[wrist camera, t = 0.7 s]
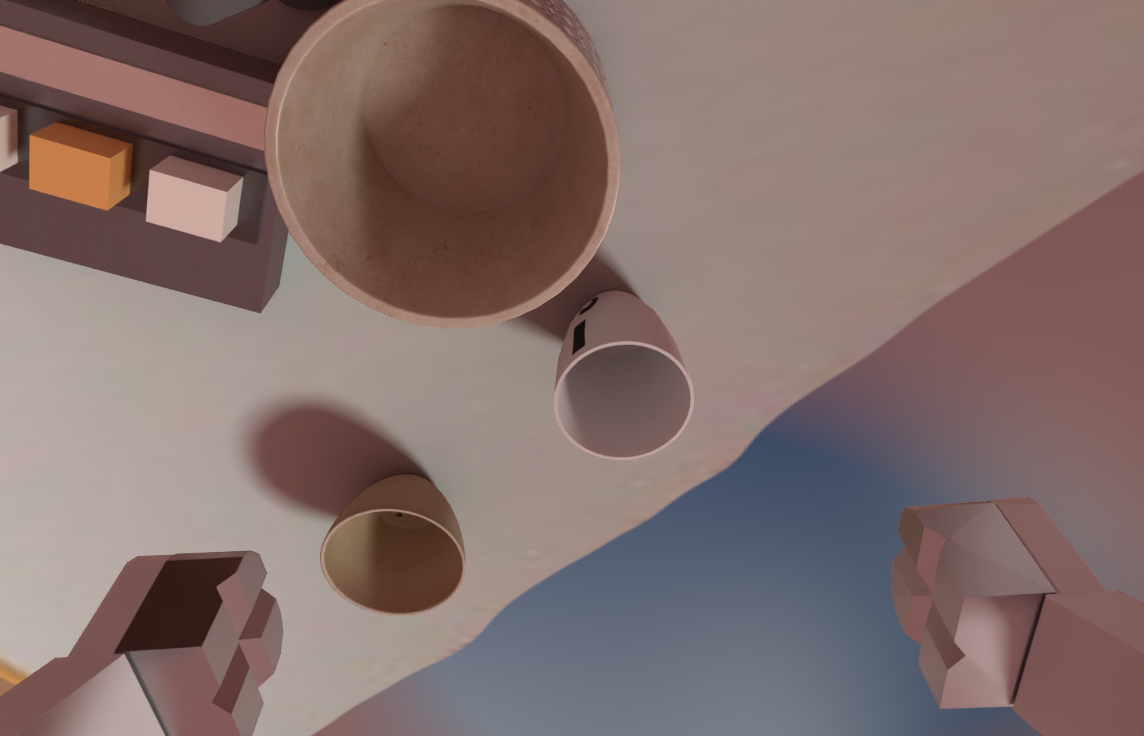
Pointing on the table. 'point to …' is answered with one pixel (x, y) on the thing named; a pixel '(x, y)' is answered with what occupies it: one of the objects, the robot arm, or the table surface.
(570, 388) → the cup
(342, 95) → the planter
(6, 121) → the light pink block
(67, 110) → the dark grey slotted tray
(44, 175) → the orange block
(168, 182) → the pale pink brick
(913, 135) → the table surface
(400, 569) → the flower pot
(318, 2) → the post
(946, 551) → the robot arm
